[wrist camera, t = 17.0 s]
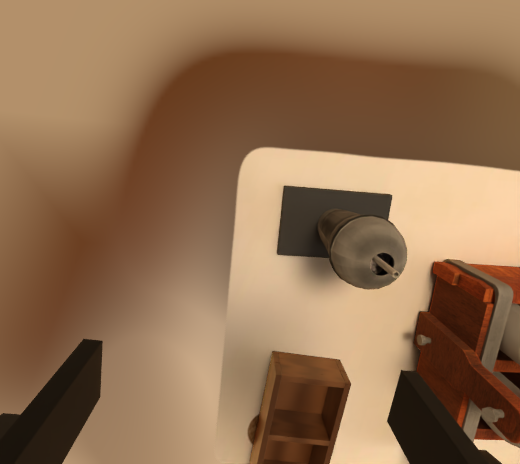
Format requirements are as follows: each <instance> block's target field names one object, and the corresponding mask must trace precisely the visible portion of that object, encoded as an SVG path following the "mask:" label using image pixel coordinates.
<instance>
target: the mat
mask: <svg viewBox="0 0 520 464" xmlns="http://www.w3.org/2000/svg"><path fill="white" fill-rule="evenodd" d="M391 200H392V195H390V194H378V193H366V192H354V191H342V190H330V189H318V188H306V187H294V186H284V191H283V201H282V210H281V220H280V230H279V239H278V249H277V253H278V255H292V256H307V257H321V258H329V253H328V251H327V249H326V247H325V245H324V243H323V242H322V240H321V237H320V235H319V232H318V225H317V224H318V221H319V218H320V217H321V215H322V214H323V213H325V212H326V211H328V210H330V209H342V210H346V211H350V212H353V213H357V214H360V215H370V214H373V215H377V216H381V217H384V218H385V219H387V220H388V217H389V212H390V206H391Z"/></svg>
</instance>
